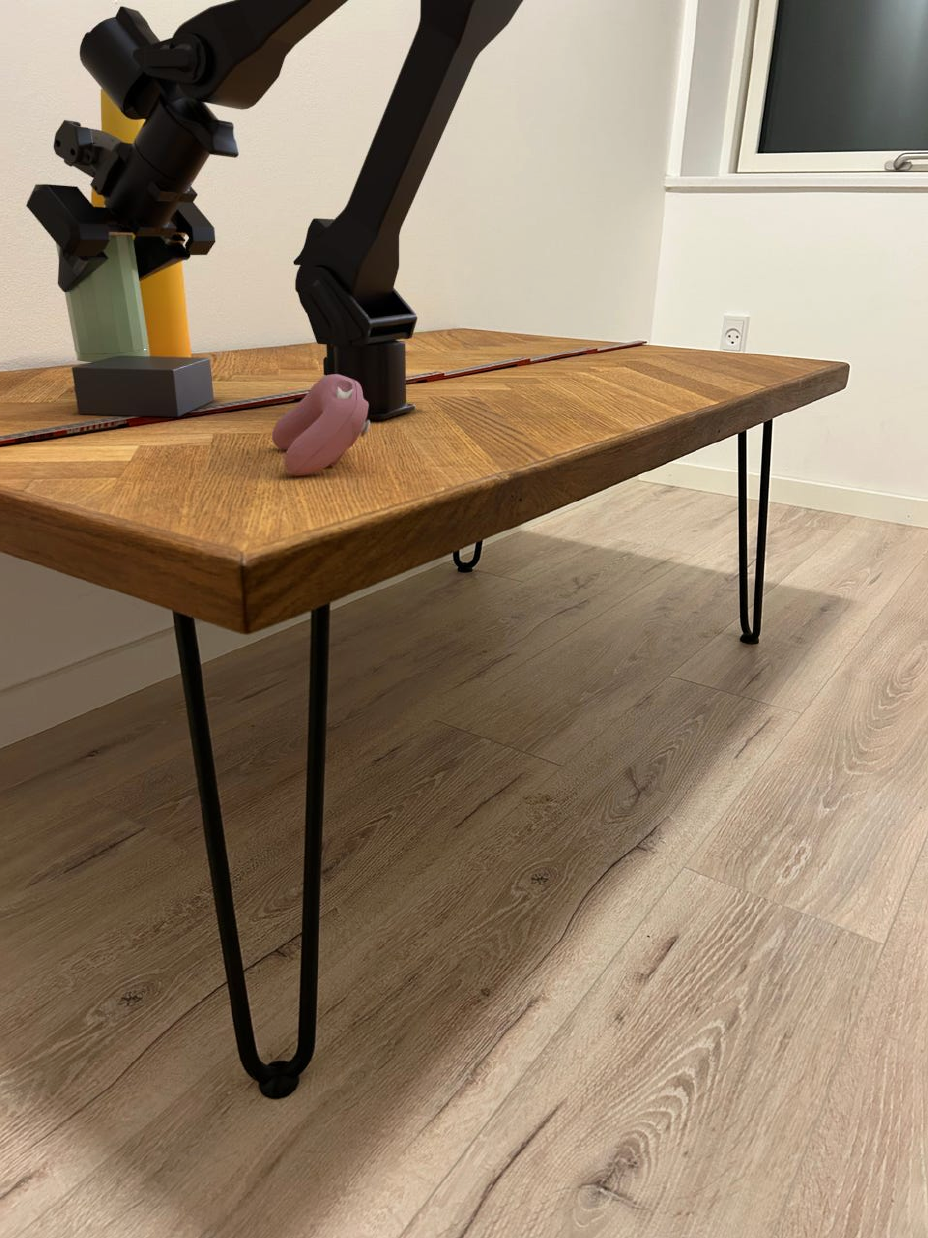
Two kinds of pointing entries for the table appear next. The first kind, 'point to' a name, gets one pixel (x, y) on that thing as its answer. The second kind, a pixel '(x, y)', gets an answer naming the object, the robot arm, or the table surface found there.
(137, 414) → the block
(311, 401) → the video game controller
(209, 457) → the table surface
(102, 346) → the cup
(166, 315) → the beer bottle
